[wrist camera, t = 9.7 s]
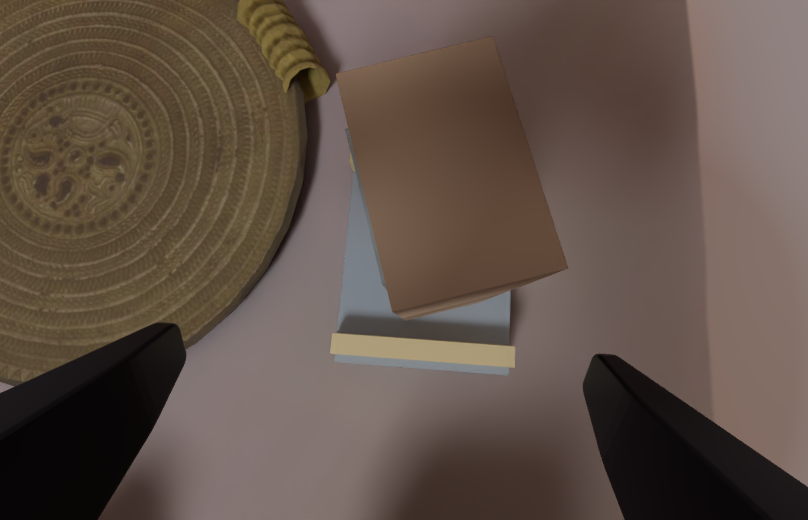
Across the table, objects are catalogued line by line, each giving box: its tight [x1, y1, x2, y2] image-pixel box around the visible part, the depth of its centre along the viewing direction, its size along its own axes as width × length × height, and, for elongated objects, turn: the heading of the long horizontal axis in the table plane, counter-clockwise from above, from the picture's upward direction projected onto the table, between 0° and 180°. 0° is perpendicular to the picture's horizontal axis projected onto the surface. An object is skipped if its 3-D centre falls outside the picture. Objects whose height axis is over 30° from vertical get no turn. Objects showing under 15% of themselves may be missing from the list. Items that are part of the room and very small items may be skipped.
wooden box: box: [336, 36, 568, 321], centre depth 15 cm, size 6×4×12 cm
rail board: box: [330, 153, 515, 375], centre depth 21 cm, size 12×9×3 cm
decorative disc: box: [0, 0, 331, 386], centre depth 24 cm, size 29×3×30 cm
